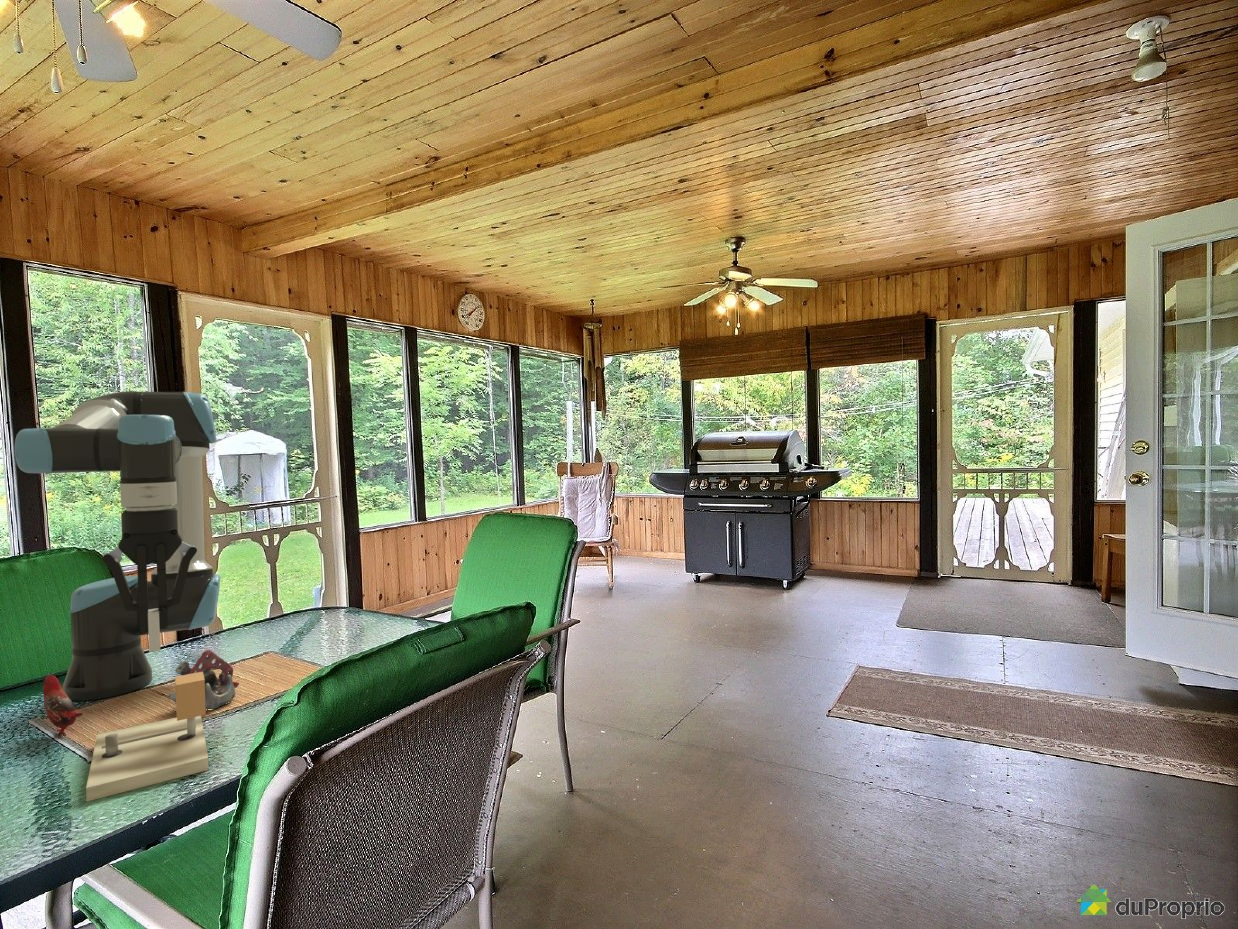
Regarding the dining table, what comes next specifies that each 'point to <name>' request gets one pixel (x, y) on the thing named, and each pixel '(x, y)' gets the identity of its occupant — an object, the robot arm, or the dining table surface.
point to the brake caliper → (211, 679)
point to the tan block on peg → (190, 698)
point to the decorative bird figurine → (58, 704)
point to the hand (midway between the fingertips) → (154, 649)
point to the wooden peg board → (145, 756)
